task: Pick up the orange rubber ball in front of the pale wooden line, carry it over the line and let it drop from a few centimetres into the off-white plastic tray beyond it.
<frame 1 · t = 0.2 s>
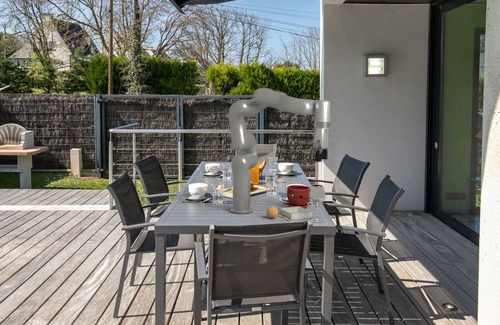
hand: (321, 160, 241), 31 cm above the table, tool pointing down, fingers open, 9 cm apart
ball: (272, 218, 251), on the table
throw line: (282, 217, 253), on the table
tray: (295, 215, 257), on the table
plant pot: (298, 208, 275), on the table
wineglass: (316, 221, 246), on the table
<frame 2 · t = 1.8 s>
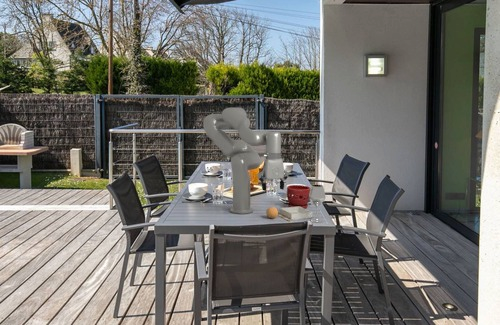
hand: (273, 189, 249), 15 cm above the table, tool pointing down, fingers open, 9 cm apart
nothing on the table moved.
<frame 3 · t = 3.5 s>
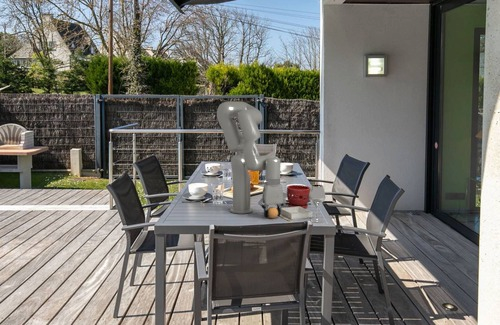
hand: (272, 216, 251), 1 cm above the table, tool pointing down, fingers closed on ball, 5 cm apart
ball: (272, 218, 251), on the table, touching gripper
everything else where it was.
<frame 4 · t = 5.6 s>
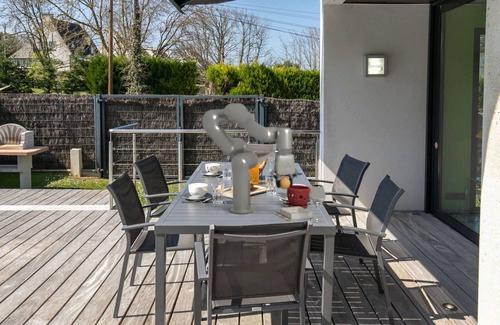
hand: (284, 186, 251), 16 cm above the table, tool pointing down, fingers closed on ball, 5 cm apart
ball: (284, 189, 251), point 15 cm above the table, touching gripper
everything else where it was.
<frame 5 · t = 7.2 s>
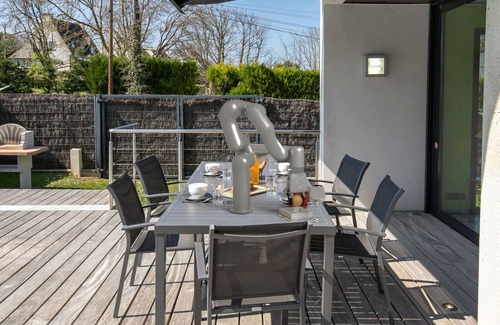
hand: (296, 204, 256), 6 cm above the table, tool pointing down, fingers closed on ball, 5 cm apart
ball: (296, 206, 256), point 5 cm above the table, touching gripper
everything else where it was.
when the fingers open (6 cm above the table, at t = 8.1 s): ball drops 4 cm, resting on tray.
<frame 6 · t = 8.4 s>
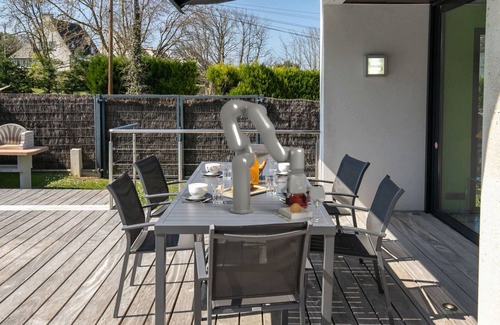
hand: (295, 203, 256), 6 cm above the table, tool pointing down, fingers open, 9 cm apart
ball: (295, 214, 257), resting on tray
everything else where it was.
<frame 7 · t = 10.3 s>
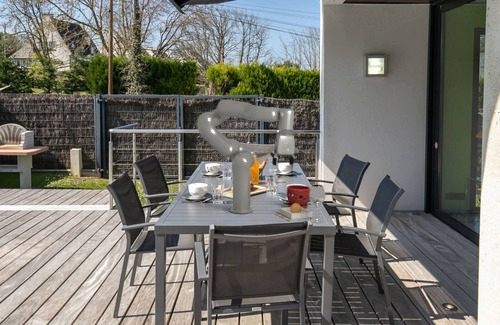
hand: (282, 165, 256), 26 cm above the table, tool pointing down, fingers open, 9 cm apart
nothing on the table moved.
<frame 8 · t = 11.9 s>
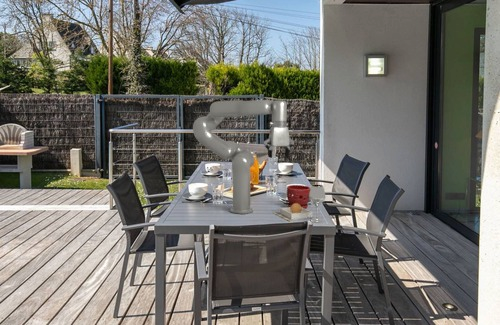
hand: (278, 157, 257), 30 cm above the table, tool pointing down, fingers open, 9 cm apart
nothing on the table moved.
at the end: ball inside the target area on the tray (0.1 cm from its centre), point 0.5 cm above the tray's base; ball inside the target area (1.5 cm from its centre), point 0.5 cm above the table; the gripper is holding nothing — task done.
